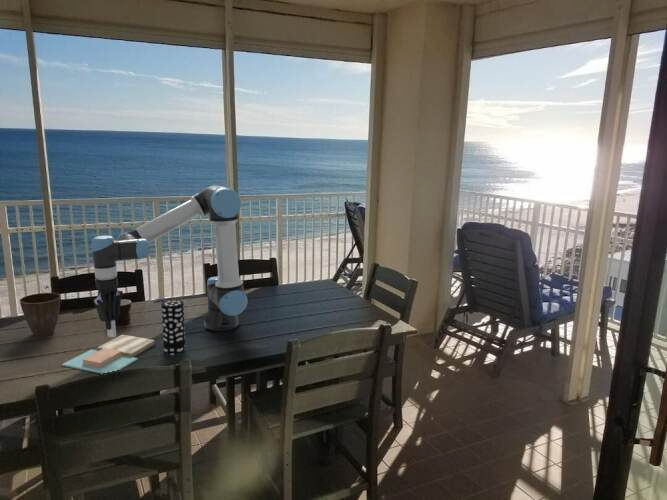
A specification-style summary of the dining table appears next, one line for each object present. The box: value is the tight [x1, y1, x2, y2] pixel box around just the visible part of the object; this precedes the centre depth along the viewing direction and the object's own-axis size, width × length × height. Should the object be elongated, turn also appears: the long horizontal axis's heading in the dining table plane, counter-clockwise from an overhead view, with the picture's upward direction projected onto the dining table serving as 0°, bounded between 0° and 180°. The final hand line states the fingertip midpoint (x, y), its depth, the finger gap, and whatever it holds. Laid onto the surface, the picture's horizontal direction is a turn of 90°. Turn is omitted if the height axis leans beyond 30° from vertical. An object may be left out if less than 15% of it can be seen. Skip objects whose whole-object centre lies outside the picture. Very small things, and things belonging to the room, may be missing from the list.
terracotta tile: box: [82, 348, 122, 368], centre depth 181 cm, size 8×11×2 cm
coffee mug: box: [116, 299, 132, 327], centre depth 220 cm, size 12×9×10 cm
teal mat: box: [61, 349, 139, 375], centre depth 180 cm, size 22×14×1 cm, turn 72°
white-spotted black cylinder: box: [160, 299, 186, 356], centre depth 190 cm, size 8×8×20 cm
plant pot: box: [19, 292, 62, 337], centre depth 204 cm, size 15×15×16 cm
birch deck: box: [96, 334, 156, 358], centre depth 193 cm, size 16×14×2 cm
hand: (112, 336), depth 184 cm, fingers closed
